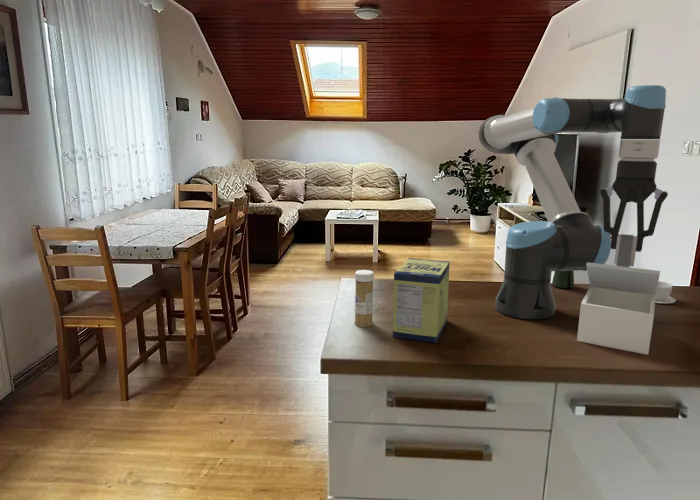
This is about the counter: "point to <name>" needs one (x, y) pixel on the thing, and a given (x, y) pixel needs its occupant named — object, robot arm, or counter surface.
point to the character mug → (563, 279)
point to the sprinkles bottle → (364, 298)
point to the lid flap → (623, 272)
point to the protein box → (420, 299)
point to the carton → (617, 319)
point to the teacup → (663, 293)
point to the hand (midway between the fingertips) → (624, 264)
